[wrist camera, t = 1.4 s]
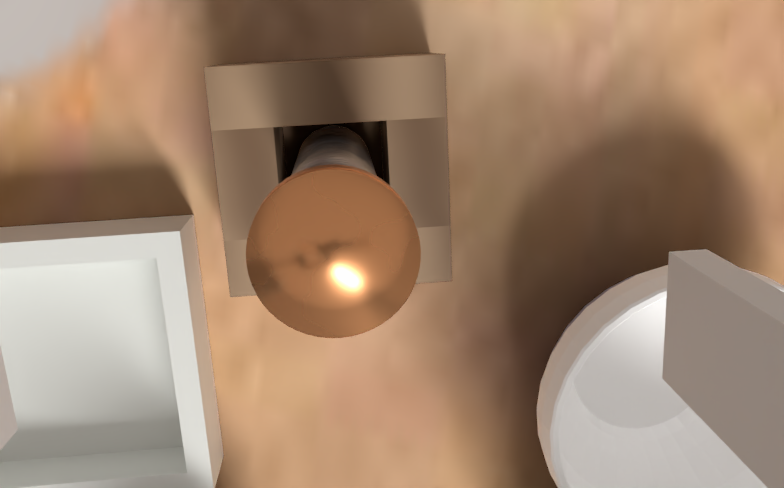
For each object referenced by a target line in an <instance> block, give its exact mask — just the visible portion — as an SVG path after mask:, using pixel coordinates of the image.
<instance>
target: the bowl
mask: <svg viewBox="0 0 784 488" xmlns="http://www.w3.org/2000/svg"><path fill="white" fill-rule="evenodd" d="M741 269H742V268H741ZM743 270H745V271H747V272H748V273H750V274H752V275H754V276H755V277H757V278H759V279H761V280H763V281H764V282H766V283H768V284H770V285H772V286H773V287H775V288H777V289H779V290H781V291H782V292H784V286H783V285H781V284H780V283H778V282H776V281H774V280H772V279H770V278H769V277H766V276H763V275H761V274H758V273H755V272H752V271H749V270H746V269H743ZM667 279H668V265H665V266H662V267H659V268H656V269H652V270H649V271H646V272H643V273H640V274H637V275H634V276H631V277H629V278H627V279H625V280H623V281H621V282H619V283H617V284H615V285H613V286H612V287H610V288H608V289H606V290H605V291H603V292H602V293H601V294H600V295H598V296H597V297H596V298H594V299H593V300H592V301H591V302H589V303H588V304H587V305H585V306H584V307H583V309H582V310H581V311H580V312H579V313H578V314H577V315H576V316H575V318H574V319H573V320H572V321H571V322H570V323H569V324H568V325H567V327H566V328H565V330H564V332H563V333H562V335H561V336H560V338H559V340H558V341H557V343H556V345H555V346H554V348H553V350H552V353H551V355H550V358H549V361H548V363H547V366H546V369H545V372H544V374H543V377H542V380H541V383H540V389H539V396H538V402H537V426H538V436H539V440H540V443H541V447H542V450H543V454H544V457H545V460H546V463H547V466H548V469H549V472H550V475H551V476H552V478H553V480H554V482H555V484H556V485H557V487H558V488H767V486H766V485H765V484H764V483H763V482H762V481H761V480H760V479H759V478H758V477H757V476H756V475H755V474H754V473H753V472H752V471H751V470H750V469H749V468H748V467H747V466H746V465H745V464H744V463H743V462H742V461H741V460H740V459H739V457H738V456H737V455H736V454H735V453H734V452H733V451H732V450H731V449H730V448H729V447H728V446H727V445H726V444H725V443H724V442H723V441H722V440H721V439H720V438H719V437H718V436H717V435H716V434H715V433H714V432H713V431H712V430H711V429H710V427H709V426H708V425H707V424H706V423H705V422H704V421H703V420H702V419H701V418H700V417H699V416H698V415H697V414H696V413H695V412H694V411H693V410H692V409H691V408H690V407H689V406H688V405H687V404H686V403H685V402H684V401H683V400H682V398H681V397H680V396H679V395H678V394H677V393H676V392H675V391H674V390H673V389H672V388H671V387H670V386H669V385H668V384H667V383H666V382H665V381H664V380H663V379H662V373H663V354H664V335H665V317H666V298H667Z"/></svg>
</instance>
